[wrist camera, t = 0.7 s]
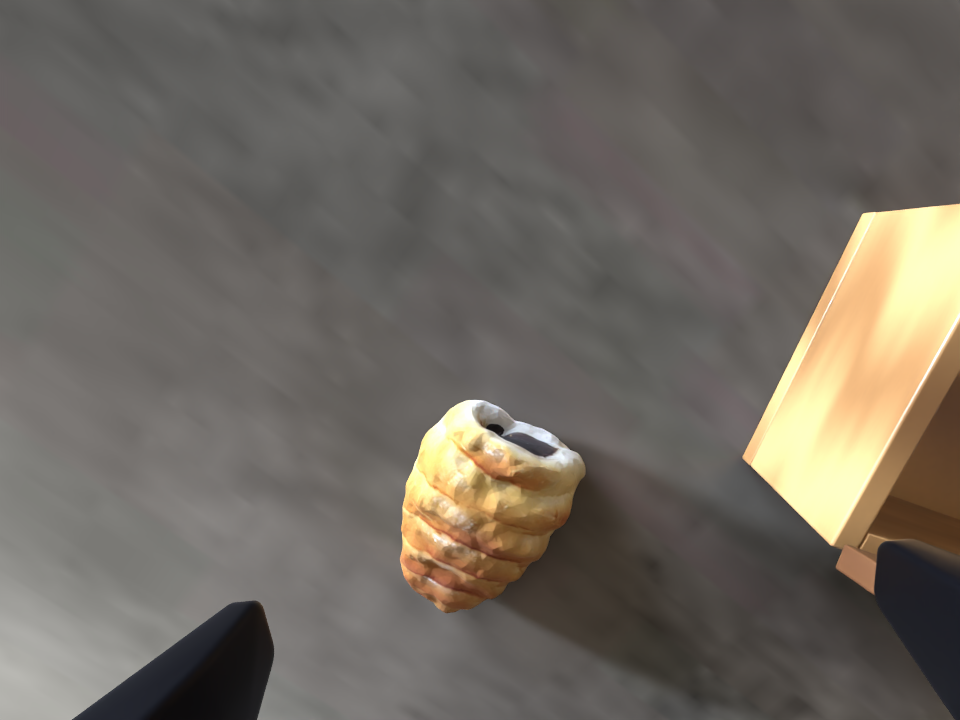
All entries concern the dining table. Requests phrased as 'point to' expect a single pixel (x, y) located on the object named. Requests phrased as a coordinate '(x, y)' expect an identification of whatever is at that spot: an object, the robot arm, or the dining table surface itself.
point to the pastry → (482, 504)
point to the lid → (858, 566)
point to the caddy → (876, 391)
